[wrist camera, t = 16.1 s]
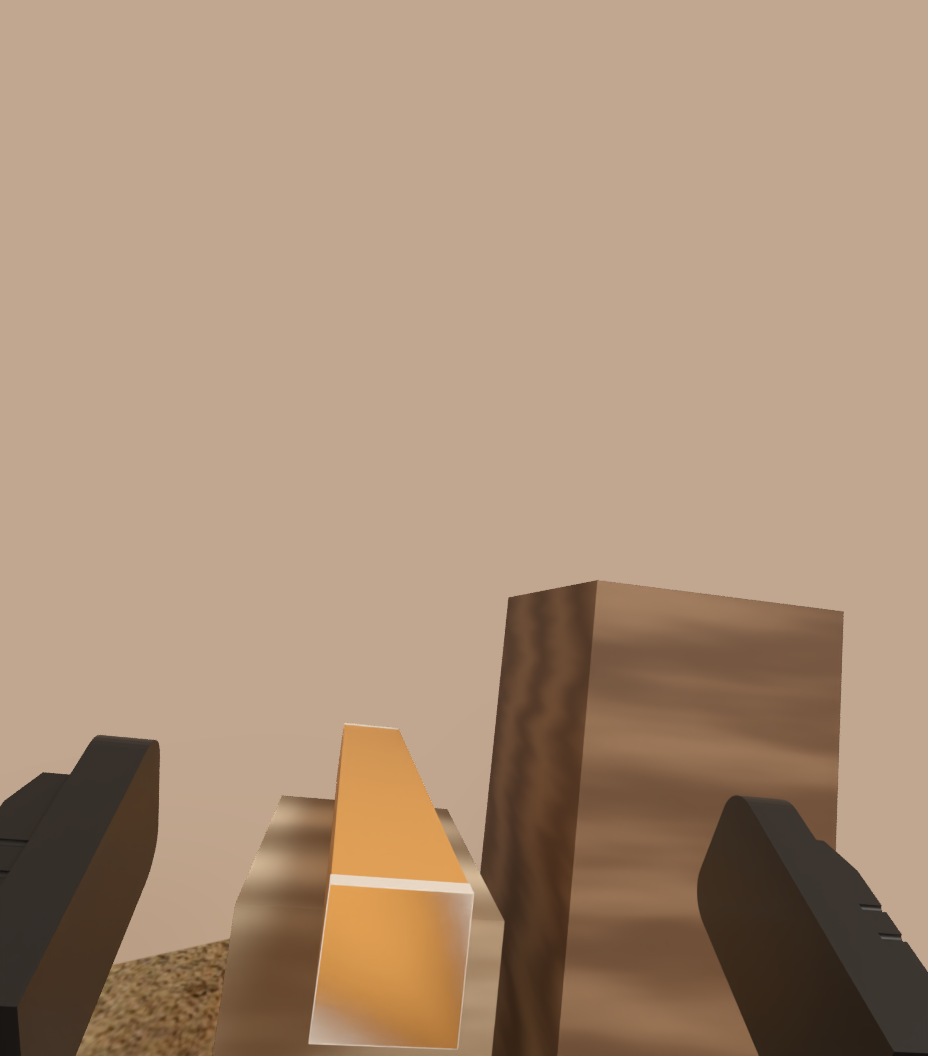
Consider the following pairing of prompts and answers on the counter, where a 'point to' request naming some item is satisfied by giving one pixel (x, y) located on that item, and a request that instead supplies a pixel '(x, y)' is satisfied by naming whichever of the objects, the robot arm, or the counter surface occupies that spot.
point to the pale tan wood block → (389, 907)
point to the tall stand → (641, 802)
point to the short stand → (294, 940)
